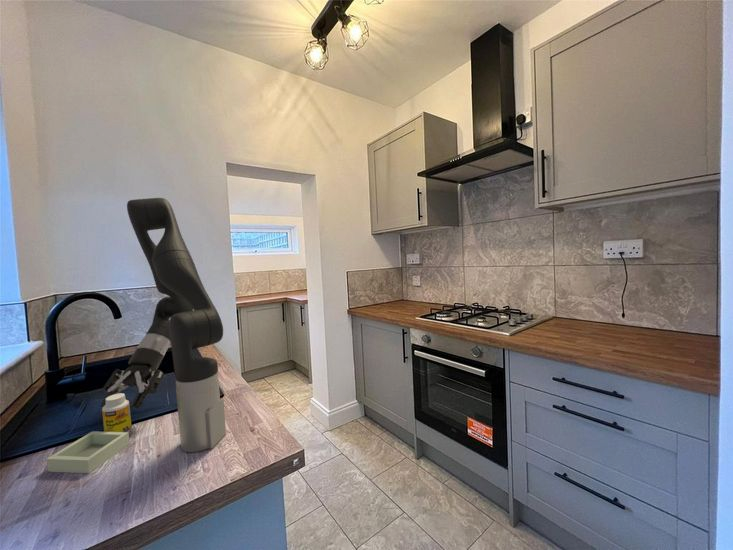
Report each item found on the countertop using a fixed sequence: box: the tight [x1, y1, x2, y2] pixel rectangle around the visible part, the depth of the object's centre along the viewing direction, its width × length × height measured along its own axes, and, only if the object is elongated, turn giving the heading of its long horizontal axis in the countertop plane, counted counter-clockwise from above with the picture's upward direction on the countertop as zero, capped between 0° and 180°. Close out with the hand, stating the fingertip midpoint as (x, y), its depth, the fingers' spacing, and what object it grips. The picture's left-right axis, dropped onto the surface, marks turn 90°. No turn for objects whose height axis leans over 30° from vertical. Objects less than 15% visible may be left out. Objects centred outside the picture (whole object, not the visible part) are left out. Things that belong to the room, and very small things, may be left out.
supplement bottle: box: [101, 392, 132, 432], centre depth 79 cm, size 6×6×10 cm
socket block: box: [46, 430, 130, 474], centre depth 70 cm, size 10×10×3 cm
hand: (119, 408), depth 80 cm, fingers open, 8 cm apart
